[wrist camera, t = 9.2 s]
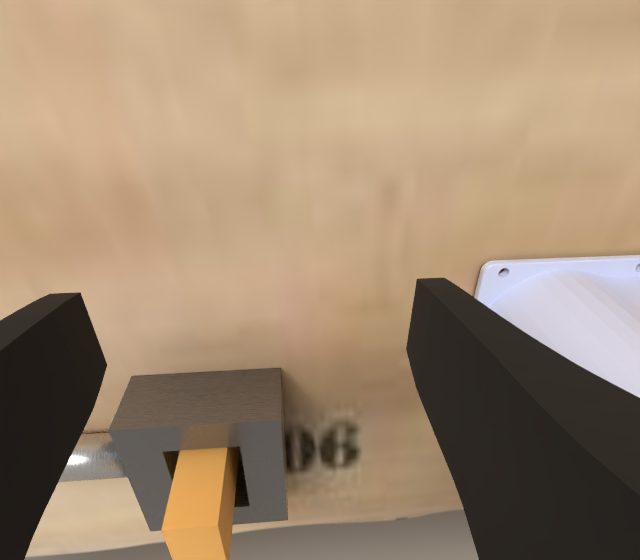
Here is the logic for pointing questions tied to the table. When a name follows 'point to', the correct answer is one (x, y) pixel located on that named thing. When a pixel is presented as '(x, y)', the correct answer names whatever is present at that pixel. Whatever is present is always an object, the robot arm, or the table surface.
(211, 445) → the grey peg hole fixture
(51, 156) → the table surface
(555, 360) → the robot arm
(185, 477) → the tall orange cuboid
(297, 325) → the table surface
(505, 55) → the table surface
